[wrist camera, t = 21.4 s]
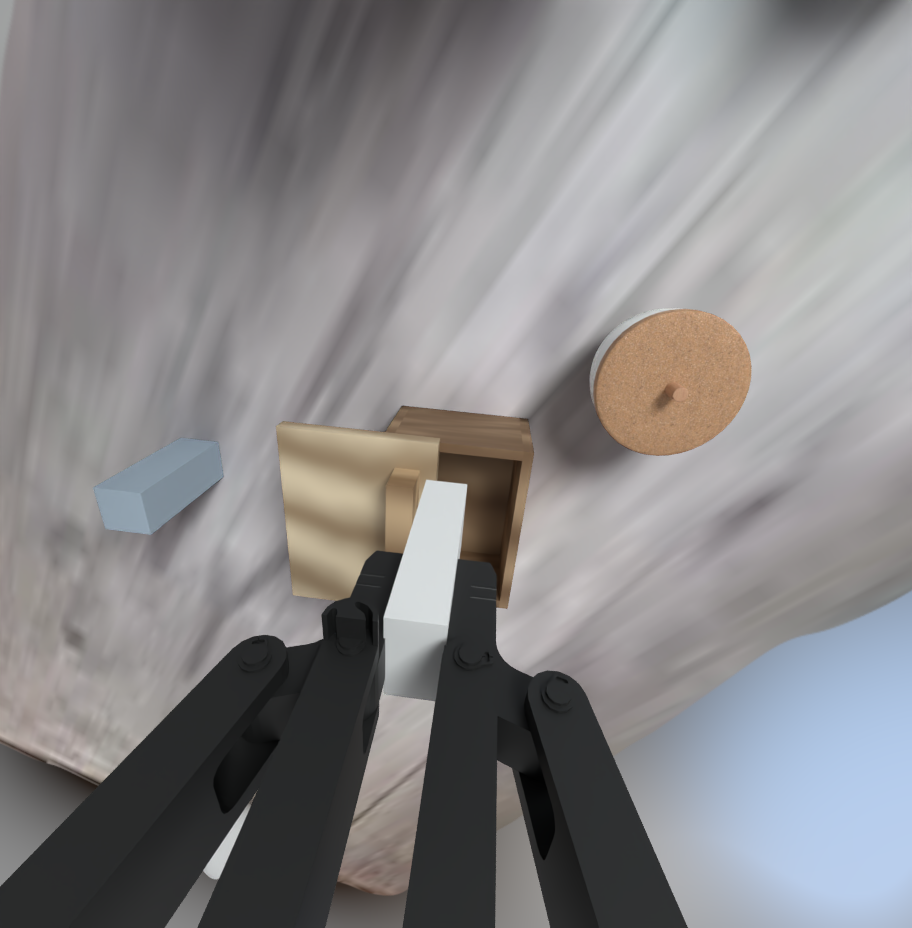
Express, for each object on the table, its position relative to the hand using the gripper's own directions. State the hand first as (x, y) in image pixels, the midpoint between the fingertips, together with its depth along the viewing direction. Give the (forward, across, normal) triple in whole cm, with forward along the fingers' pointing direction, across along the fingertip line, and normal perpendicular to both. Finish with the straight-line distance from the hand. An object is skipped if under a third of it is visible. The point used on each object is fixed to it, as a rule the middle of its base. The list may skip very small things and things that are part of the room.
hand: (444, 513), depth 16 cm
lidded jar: (+26, +14, 0) cm, 30 cm away
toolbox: (+26, -1, -14) cm, 29 cm away
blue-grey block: (+26, -28, -14) cm, 40 cm away
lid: (+17, -8, -13) cm, 24 cm away
